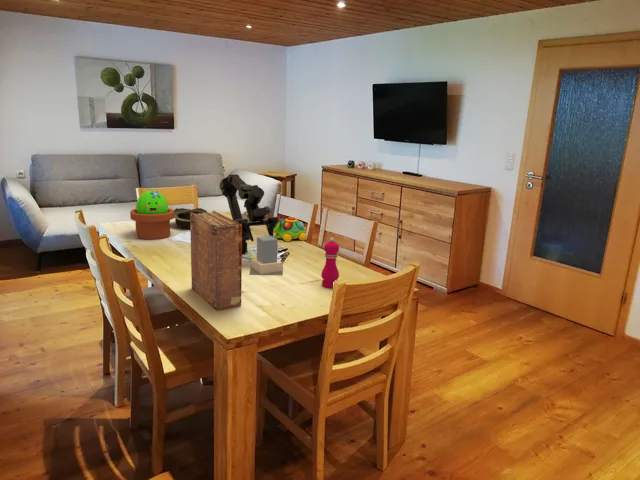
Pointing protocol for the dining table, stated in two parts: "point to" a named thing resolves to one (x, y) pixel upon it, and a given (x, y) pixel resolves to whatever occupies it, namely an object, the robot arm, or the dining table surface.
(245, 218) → the food container
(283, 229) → the turtle toy
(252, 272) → the baseplate
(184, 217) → the stone bowl
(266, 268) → the base brick
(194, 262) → the book
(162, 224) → the potted cactus
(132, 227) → the dining table surface
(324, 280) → the pepper mill
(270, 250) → the tall brick
